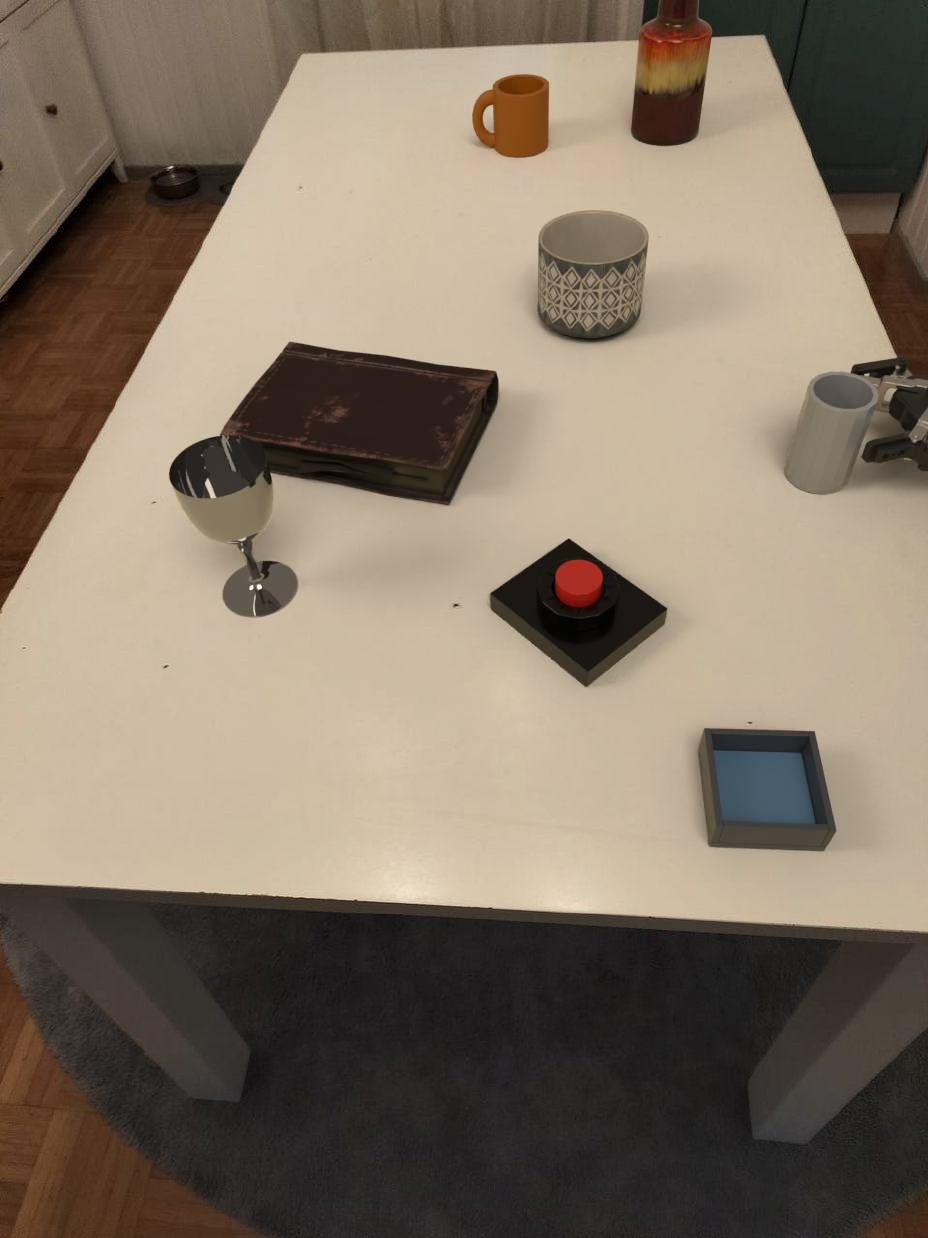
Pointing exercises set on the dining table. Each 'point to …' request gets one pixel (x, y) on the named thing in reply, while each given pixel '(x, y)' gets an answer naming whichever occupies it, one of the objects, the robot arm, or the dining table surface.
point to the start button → (578, 583)
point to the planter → (591, 273)
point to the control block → (578, 615)
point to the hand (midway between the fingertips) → (842, 425)
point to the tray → (764, 790)
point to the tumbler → (830, 431)
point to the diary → (368, 420)
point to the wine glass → (234, 516)
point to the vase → (671, 74)
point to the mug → (515, 115)
